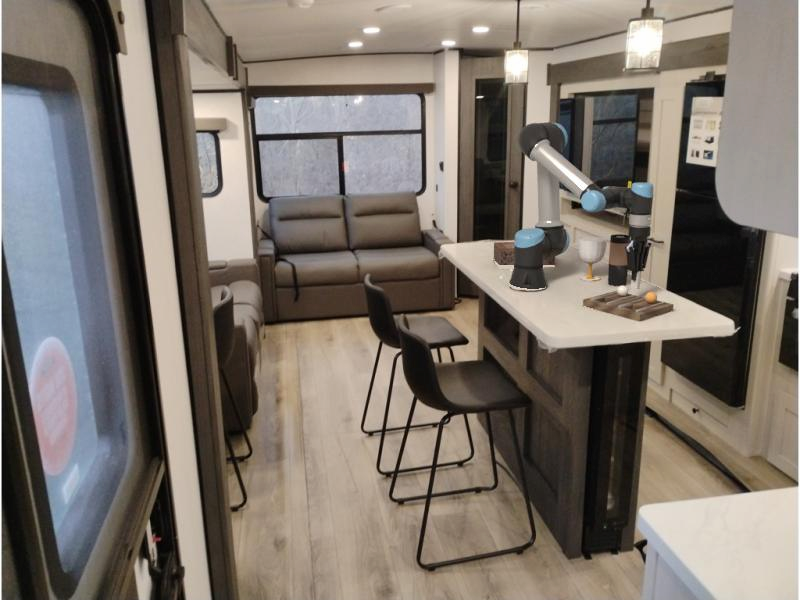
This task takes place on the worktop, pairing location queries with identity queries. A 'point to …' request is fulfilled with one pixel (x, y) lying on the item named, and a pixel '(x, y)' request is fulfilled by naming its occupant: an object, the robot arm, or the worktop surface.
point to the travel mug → (618, 260)
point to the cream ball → (622, 290)
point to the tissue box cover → (511, 254)
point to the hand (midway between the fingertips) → (635, 288)
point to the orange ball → (651, 297)
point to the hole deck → (628, 306)
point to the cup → (591, 251)
